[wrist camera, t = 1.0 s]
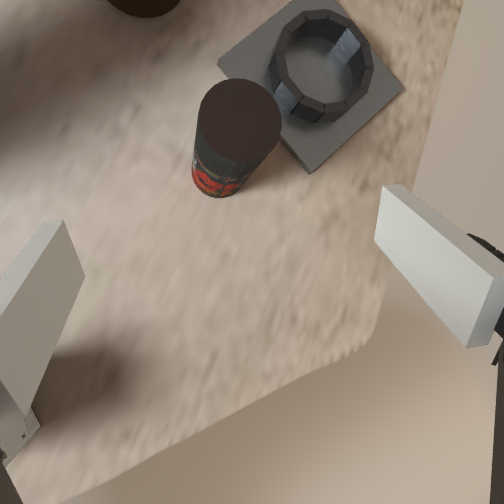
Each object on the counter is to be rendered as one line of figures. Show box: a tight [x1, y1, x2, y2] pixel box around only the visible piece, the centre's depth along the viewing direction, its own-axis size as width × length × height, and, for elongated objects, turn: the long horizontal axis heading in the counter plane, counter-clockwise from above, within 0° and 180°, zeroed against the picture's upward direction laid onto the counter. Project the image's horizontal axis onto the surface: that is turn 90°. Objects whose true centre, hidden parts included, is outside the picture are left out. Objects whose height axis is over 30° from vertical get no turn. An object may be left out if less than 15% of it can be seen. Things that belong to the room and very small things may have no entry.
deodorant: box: [192, 78, 282, 198], centre depth 32 cm, size 6×6×15 cm
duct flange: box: [217, 0, 403, 174], centre depth 40 cm, size 16×16×4 cm
